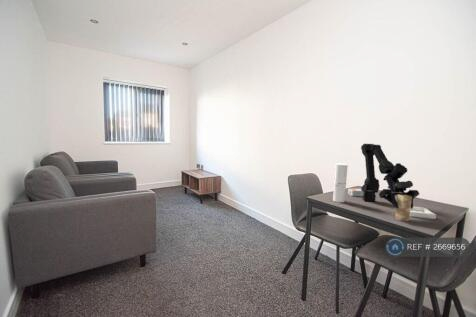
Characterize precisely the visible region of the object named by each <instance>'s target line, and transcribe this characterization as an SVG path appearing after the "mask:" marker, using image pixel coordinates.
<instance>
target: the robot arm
mask: <svg viewBox="0 0 476 317" xmlns="http://www.w3.org/2000/svg"><path fill="white" fill-rule="evenodd" d="M360 149H361V153H362V155H363V156H364V158H365V160H364V161H365V171H366V172H365V174H366V178H365V179H364V184H363V185H362V186H361V187H360V189H361V191H363V192H364V193H363V196H362V200H363V201H364V202H369V203H370V202H371V203H375V202H376V198H377V196H376V195H377V194H376V193H378V192H379V190H380V181H379V179H377V177H376V173H375V171H376V170H375V160H374V156H375V158H376V160H377V162H378V170H379V172H380V174H382V175H385V176H384V177H383V181H386V183H387V185H388V186H387V188H383V189H382V190H381V191H380V192H379V193H378V196H379V198H380V199H384V200H386V201H388V202H389V203H390V204H392V205H393V207H395V209H396V208H399V206H398V203H397V198H396V196H398V194H399V195H408V196H411V197H412V201H411V209H413V207H414V199H416V198H417V197H418V196H419V195H420V192H419V190H417V189H411V188H412V187H413V186H414V183H413V182H412V180H406V181H400V179H401V178H402V177H403V176H404V175H405V174H406V173H408V168H407V167H406V166H404V165H403V164H401V163H400V162H397V163H395V165H394V163H392V162H391V161H389V160H388V158H387V156H386V155H385V153H384V150H382V146H381V145H380V144H374V143H363V144H362V145H361V146H360ZM407 189H409V190H407Z"/></svg>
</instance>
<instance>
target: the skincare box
mask: <svg viewBox="0 0 476 317" xmlns="http://www.w3.org/2000/svg"><path fill="white" fill-rule="evenodd" d="M363 193H364V192H363V191H361V188H347V195H350V196H351V197H363Z"/></svg>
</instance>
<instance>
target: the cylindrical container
mask: <svg viewBox="0 0 476 317" xmlns="http://www.w3.org/2000/svg"><path fill="white" fill-rule="evenodd" d="M348 167H349V166H348V164H347V163H342V162H341V163H338V162H337V163H335V168H334V181H333V182H334V184H333V195H332V201H334V202H335V201H336V202H335V203H340V202H343V203H345V202H346V199H345V198H346V188H347V176H348Z"/></svg>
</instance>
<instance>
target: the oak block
mask: <svg viewBox="0 0 476 317" xmlns="http://www.w3.org/2000/svg"><path fill="white" fill-rule="evenodd" d="M396 201H397V203H398V206H399V208H396V207H395V216H394V218H395V219H397V220H398V221H400V222H402V221H403V222H409V221H410V218H411V217H410V209H411V201H412V197H411V196H408V195H399V194H398V196H397V198H396Z"/></svg>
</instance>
